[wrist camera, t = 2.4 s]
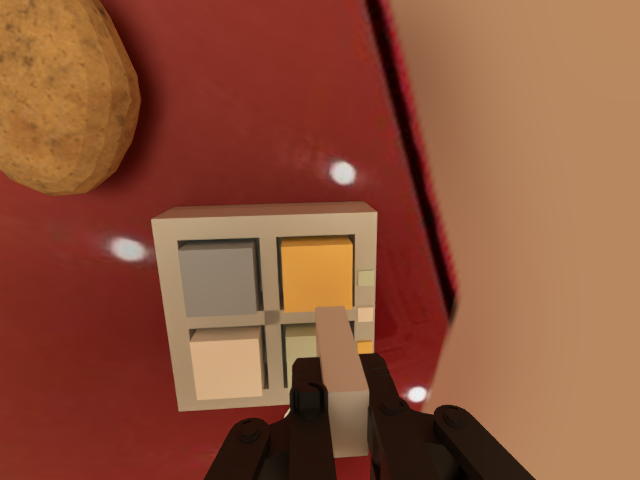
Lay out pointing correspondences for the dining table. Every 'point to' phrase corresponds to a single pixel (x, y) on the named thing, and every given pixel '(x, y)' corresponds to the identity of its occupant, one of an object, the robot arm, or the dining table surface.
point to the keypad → (261, 282)
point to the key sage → (299, 344)
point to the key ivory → (228, 362)
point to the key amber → (316, 272)
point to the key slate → (220, 277)
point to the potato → (63, 95)
